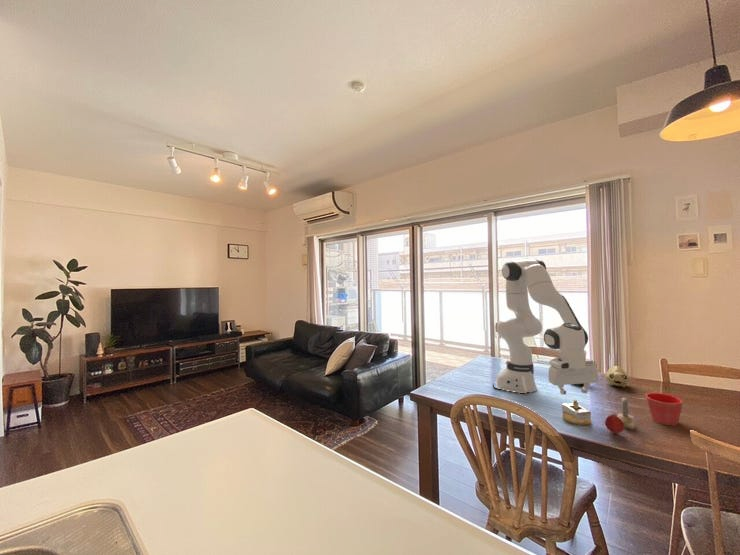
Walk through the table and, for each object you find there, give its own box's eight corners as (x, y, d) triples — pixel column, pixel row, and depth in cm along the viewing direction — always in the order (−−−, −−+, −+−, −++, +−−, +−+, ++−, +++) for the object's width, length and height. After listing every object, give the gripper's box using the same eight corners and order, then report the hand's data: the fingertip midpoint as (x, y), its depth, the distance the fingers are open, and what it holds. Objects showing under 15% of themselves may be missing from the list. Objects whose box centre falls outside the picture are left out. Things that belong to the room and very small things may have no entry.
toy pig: (606, 388, 164) (605, 368, 164) (605, 381, 174) (604, 362, 174) (630, 391, 158) (629, 371, 158) (628, 384, 168) (627, 364, 168)
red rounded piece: (608, 436, 118) (607, 415, 118) (603, 429, 123) (602, 409, 123) (627, 438, 116) (626, 417, 116) (621, 431, 121) (620, 411, 121)
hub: (564, 423, 130) (563, 403, 130) (561, 413, 138) (560, 394, 138) (593, 427, 125) (592, 406, 125) (588, 417, 134) (587, 397, 134)
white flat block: (577, 419, 127) (576, 412, 127) (562, 410, 136) (562, 403, 136) (591, 418, 127) (590, 411, 127) (575, 409, 136) (575, 402, 136)
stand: (620, 427, 124) (618, 400, 124) (616, 422, 128) (615, 395, 128) (636, 429, 122) (634, 402, 122) (632, 424, 126) (630, 397, 126)
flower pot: (675, 430, 120) (674, 405, 120) (641, 418, 130) (640, 396, 130) (689, 423, 124) (687, 399, 124) (655, 413, 134) (654, 391, 134)
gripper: (590, 357, 136) (591, 388, 136) (545, 360, 135) (546, 391, 135) (602, 362, 129) (602, 394, 130) (555, 365, 128) (556, 398, 129)
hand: (573, 393), depth 132 cm, fingers open, 8 cm apart
